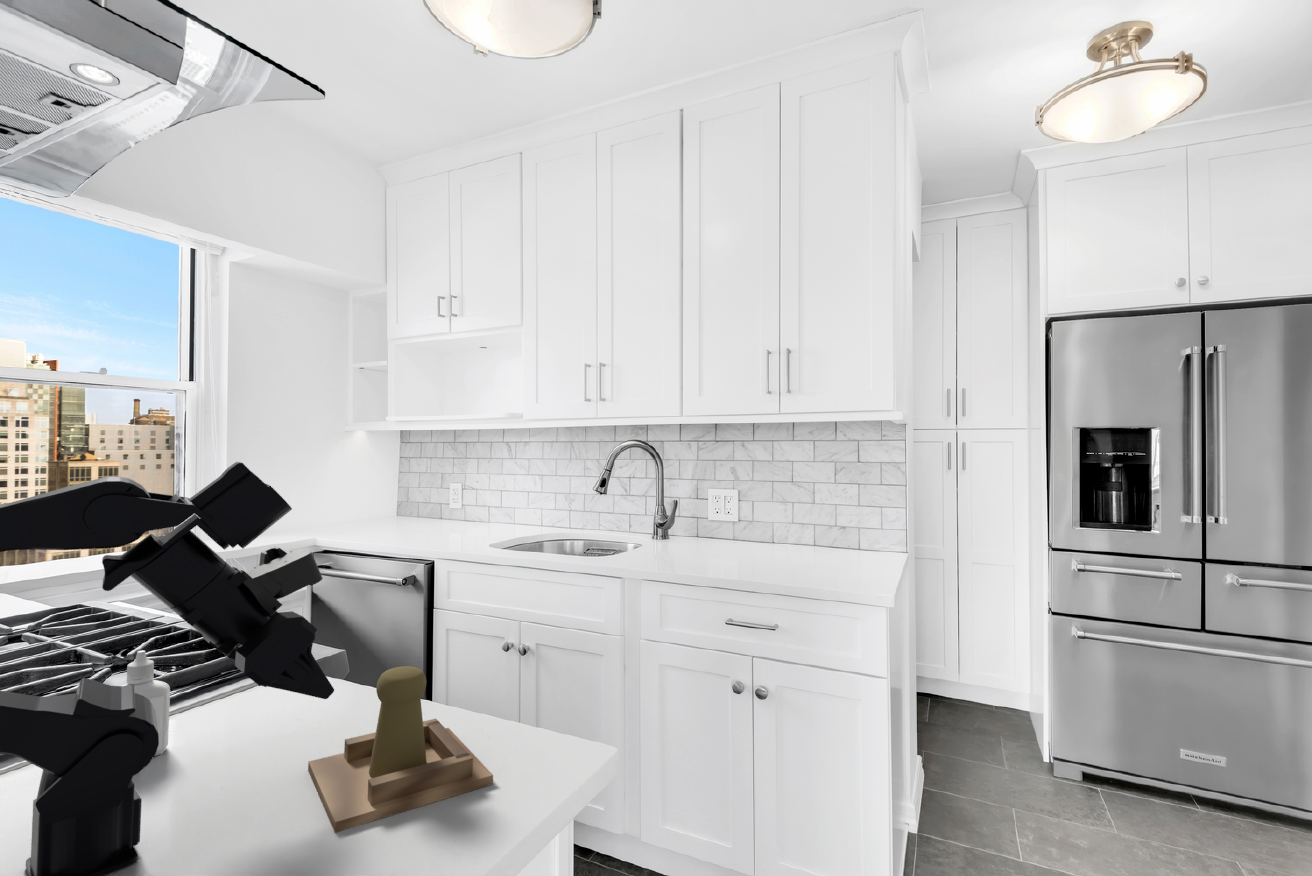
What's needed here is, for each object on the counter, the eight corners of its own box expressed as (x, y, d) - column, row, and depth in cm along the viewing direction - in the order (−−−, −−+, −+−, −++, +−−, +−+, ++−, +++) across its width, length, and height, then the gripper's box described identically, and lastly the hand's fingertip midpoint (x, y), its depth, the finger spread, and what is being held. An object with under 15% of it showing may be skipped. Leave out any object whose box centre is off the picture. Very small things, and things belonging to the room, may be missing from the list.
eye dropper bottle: (145, 765, 73) (149, 658, 73) (96, 763, 73) (101, 656, 73) (175, 747, 77) (179, 646, 77) (129, 744, 78) (133, 644, 78)
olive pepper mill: (378, 788, 68) (383, 684, 68) (361, 765, 73) (365, 667, 73) (435, 771, 72) (439, 672, 72) (415, 750, 77) (419, 657, 77)
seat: (334, 832, 62) (336, 801, 62) (308, 770, 73) (309, 743, 73) (492, 784, 72) (493, 756, 72) (448, 735, 83) (448, 712, 83)
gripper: (299, 528, 59) (410, 637, 66) (248, 519, 72) (344, 610, 79) (186, 626, 53) (320, 736, 60) (152, 597, 66) (265, 689, 73)
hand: (315, 684), depth 68 cm, fingers open, 9 cm apart
